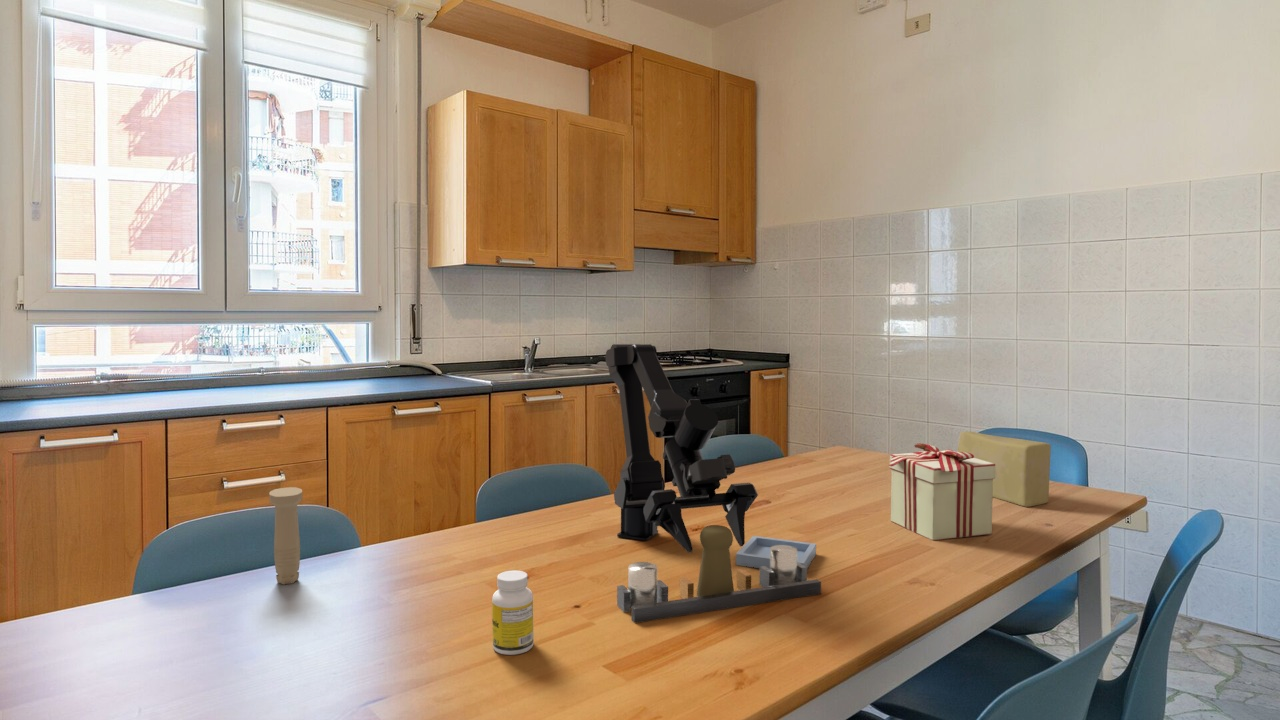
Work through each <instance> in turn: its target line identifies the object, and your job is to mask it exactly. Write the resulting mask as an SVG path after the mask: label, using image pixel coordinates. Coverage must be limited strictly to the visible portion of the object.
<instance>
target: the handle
mask: <svg viewBox="0 0 1280 720" xmlns="http://www.w3.org/2000/svg"><path fill="white" fill-rule="evenodd" d="M268 494H269V504H270V505H273V506H274V511H275V512H274V513H275V514H274V537H273V538H274V539H273V556H274V558H273V559H274V568H275V572H276V575H275V578H276V582H277V584H281V585H287V584H294V583H295V582H297V581H298V580H299V578H300V572H299V570H300V565H301V564H300V562H301V543H300V541H301V539H300V531H299V530H300V527H299V517H298V504H299V503H300V502H301V501H303V489H302V488H299V487H294V486H291V487H280V488H276V489H275V488H274V489H272V490H270V491H269V493H268Z"/></svg>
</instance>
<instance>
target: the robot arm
mask: <svg viewBox="0 0 1280 720" xmlns="http://www.w3.org/2000/svg"><path fill="white" fill-rule="evenodd" d="M605 364H606V366H607V367H608V373H609V377H610V379H611V380H612V381H613V382H614V384H615V385H616V386H617V387H618V390H619V399H620V409H621V419H622V426H623V435H624V444H625V452H626V458H625V461H624V463H623V465H622V467H621V470H620V479H619V482H618V484H617V485H616V487H615V490H614V493H613V497H614V498H613V499H614V504H615V505H616V506H618V507H619V508H620V532H618V533H617V537H619V538H624V539H632V540H639V541H648V540H649V539H651V538H652V537H654V536H655V535H656V534H658V533H659V530H658V527H661V529H663V530H664V531H666V532H667V533H668V534H669V536H671V537H672V538H673V539H674V540H675V541H676V542H677V543H678V544H679V545H680V546H681V547H682V548H683V549H684V550H685V551H686V552H687V554H690V553H692V552H693V545H692V541H691V539H690V536H689V532H688V530H687V528H686V525H685V522H684V519H683V516H682V515H683V514H682V510H685V509H696V508H706V507H717V506H722V508H723V511H724V512H725V513H726V515H725V517H724V518H725V519H726V522H727V524H728V525H729V529H730V530H731V532H732V535H733V537H734V539H735V541H736V542H737V544H738V545H739V547H743V546H744V545H745V544H746V543H745V542H746V541H745V539H746V535H745V519H746V518H745V516H746V512H748V510H749V509H750V507H751V506H752V505H753V503H754V502H755V500H756V499H757V497H758V496H759V494H758V492H757V489H756V486H754V484H753V483H751V482H741V483H740V482H739V483H730V486H729V487H728V489H727V490H726V491H725V492H719V493H717V492H716V490H719V489H720V487H721V485H722V484H721V482H720V481H722V480H723V479H724V480H726V479H728V476H731V475H733V474H734V473H735V472H736V465H735V462H734V459H733V457H732V455H731V454H730V453H729V454H721V455H720V456H718V457H716V458H705V459H704V458H703V455H702V453H701V450H702V449H703V448H705V447H706V445H707V444H708V442H709V440H711V436H712V434H713V433H714V431H715V430H716V428H717V426H718V424H719V418H718V414H717V413H716V411H714V410H713V409H712V408H711V407H709V406H708V405H707V404H703V403H702V401H701V400H700V399H698V398H696V399H688V401H686V399H685V398H684V397H682V396H680V395H679V394H677V393H676V392H674V389H673V388H672V386H671V384H670V380H669V379H668V377H667V375H666V373H665V370H664V368H663V367H662V364H661V361H660V360H659V358H658V353H657V347H656V346H655V345H652V344H650V343H649V344H646V343H645V344H640V343H613V344H612V345H611V347H610V348H609V349H607V350H606V352H605ZM644 394H645V396H646V399H647V401H648V403H649V406H650V411H649V414H648V416H647V415H646V408H645V399H644ZM647 418H648V426H647ZM648 427H649V429H650V431H651V432H652V434H653V436H654V437H655V438H659V439H664V438H669V439H668V440H667V441H666V443H665V445H664V447H663V448H664V451H663V454H662V459H663V460H668V463H669V467H670V469H671V472H672V476H673V479H672V480H671V482H672V486H673V487H677V489H678V493H679V496H677V494H676V491H675V490H674V489H666V488H665V487H666V482H665V480H664V477H663V473H662V464H661V462H660V461H659V460H658V459H657V460H656V459H655V457H653V455H652V454H651V449H650V441H649V434H648V433H649V432H648Z"/></svg>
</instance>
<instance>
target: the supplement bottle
mask: <svg viewBox="0 0 1280 720" xmlns="http://www.w3.org/2000/svg"><path fill="white" fill-rule="evenodd" d="M496 581H497V582H496V585H497V590H496V591H495V592H494V593H493V595H492V598H491V599H492V600H491V604H492V605H491V606H492V607H491V610H492V611H491V612H492V613H491V614H492V615H491V616H492V619H491V620H492V625H491V626H492V647H493V650H494V651H495V652H496V653H498V654H501V655H506V656H515V655H520V654H524V653H526V652H528V651H530V650H531V649H532V648H533V647H534V594H533V592H532V590H531V589H530V588H528V583H529V582H528V573H527V572H525V571H523V570H505V571H503V572H500V573H498V574H497V578H496Z"/></svg>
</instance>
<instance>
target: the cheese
mask: <svg viewBox="0 0 1280 720" xmlns="http://www.w3.org/2000/svg"><path fill="white" fill-rule="evenodd" d="M1051 449H1052V446H1051V444H1050V443H1048V442H1045V441H1044V442H1041V441H1035V440H1030V439H1029V440H1027V439H1021V438H1014V437H1006V436H998V435H991V434H986V433H980V432H975V431H968V430H967V431H961V432H959V438H958V445H957V452H966V453H971V454H973V455H974V458H977V459H980V460H984V461H987V462H991V463H994V464H995V479H993V498H994V499H997V500H1002V501H1005V502H1008V503H1011V504H1015V505H1018V506H1021V507H1024V508H1025V507H1026V508H1030V507H1035V506H1040V505H1045V504H1047V503H1048V502H1049V498H1050V497H1049V495H1050V493H1049V492H1050V471H1051V451H1052V450H1051Z"/></svg>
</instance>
